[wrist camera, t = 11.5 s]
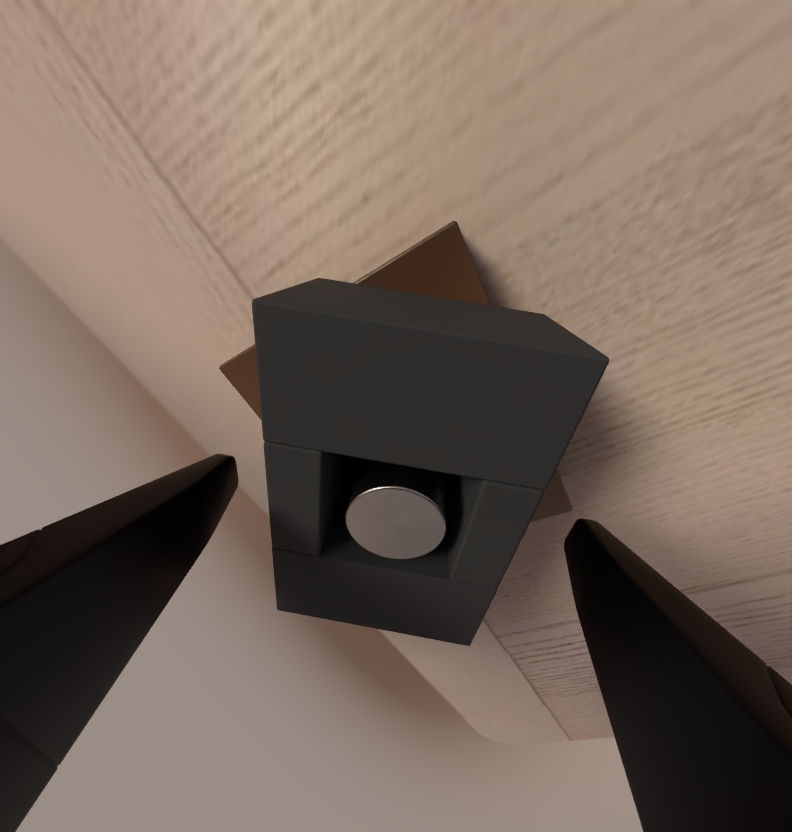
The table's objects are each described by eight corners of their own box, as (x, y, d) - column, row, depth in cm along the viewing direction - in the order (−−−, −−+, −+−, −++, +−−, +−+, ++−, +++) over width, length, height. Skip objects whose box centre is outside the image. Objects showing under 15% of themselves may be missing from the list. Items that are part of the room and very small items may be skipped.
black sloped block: (461, 549, 13) (470, 647, 10) (313, 522, 13) (276, 610, 10) (546, 314, 8) (613, 358, 5) (317, 277, 8) (249, 298, 5)
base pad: (242, 352, 11) (120, 424, 7) (452, 222, 9) (471, 204, 4) (384, 536, 15) (363, 657, 11) (559, 482, 12) (626, 612, 8)
